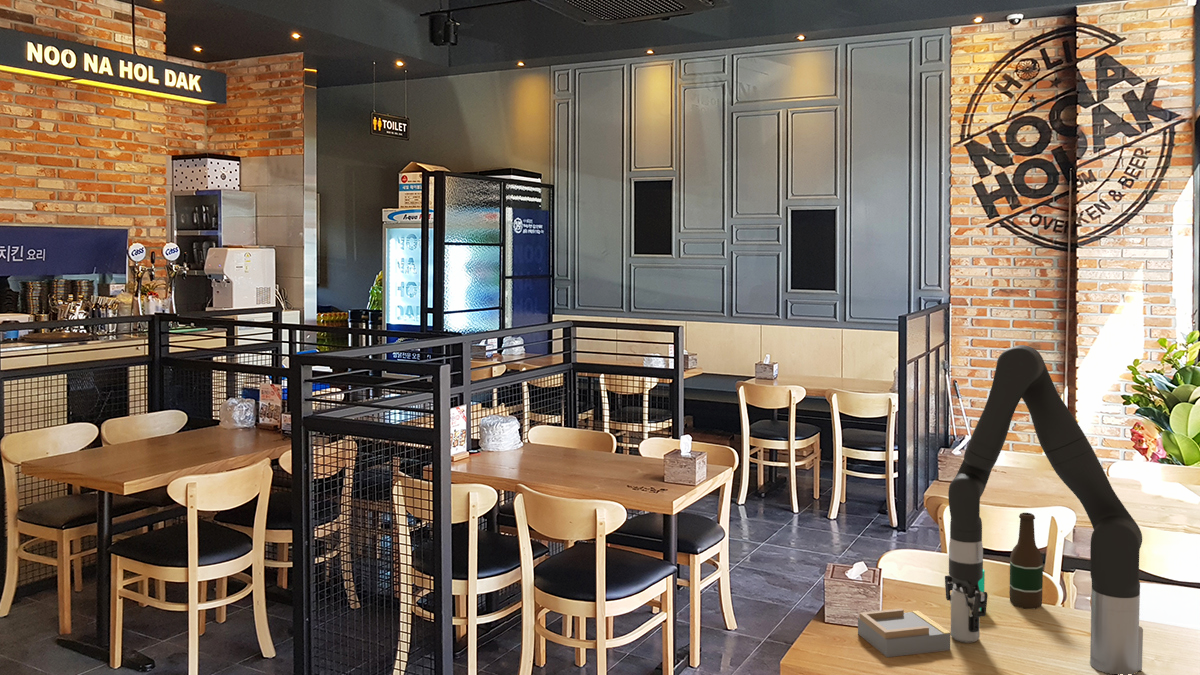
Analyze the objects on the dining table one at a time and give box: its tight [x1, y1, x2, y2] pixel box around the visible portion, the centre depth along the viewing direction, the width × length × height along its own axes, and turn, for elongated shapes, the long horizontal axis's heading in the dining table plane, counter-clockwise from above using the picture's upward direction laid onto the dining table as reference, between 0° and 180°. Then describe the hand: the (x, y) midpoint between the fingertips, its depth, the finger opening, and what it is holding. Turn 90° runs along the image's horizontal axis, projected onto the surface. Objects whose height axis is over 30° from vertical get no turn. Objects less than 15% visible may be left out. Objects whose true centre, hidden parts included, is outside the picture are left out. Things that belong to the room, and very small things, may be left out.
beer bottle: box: [1009, 512, 1044, 610], centre depth 241 cm, size 8×8×24 cm
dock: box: [857, 608, 951, 658], centre depth 220 cm, size 16×14×6 cm
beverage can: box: [950, 588, 981, 644], centre depth 220 cm, size 6×6×12 cm
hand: (965, 625), depth 221 cm, fingers closed on beverage can, 6 cm apart
